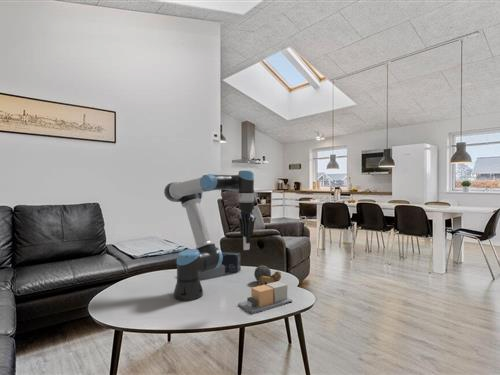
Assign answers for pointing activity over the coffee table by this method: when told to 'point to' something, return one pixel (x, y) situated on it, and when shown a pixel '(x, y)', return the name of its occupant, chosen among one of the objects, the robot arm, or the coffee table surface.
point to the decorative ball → (262, 272)
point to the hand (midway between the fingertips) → (246, 249)
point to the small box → (231, 262)
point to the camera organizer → (212, 273)
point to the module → (262, 295)
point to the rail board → (258, 309)
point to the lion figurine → (270, 278)
